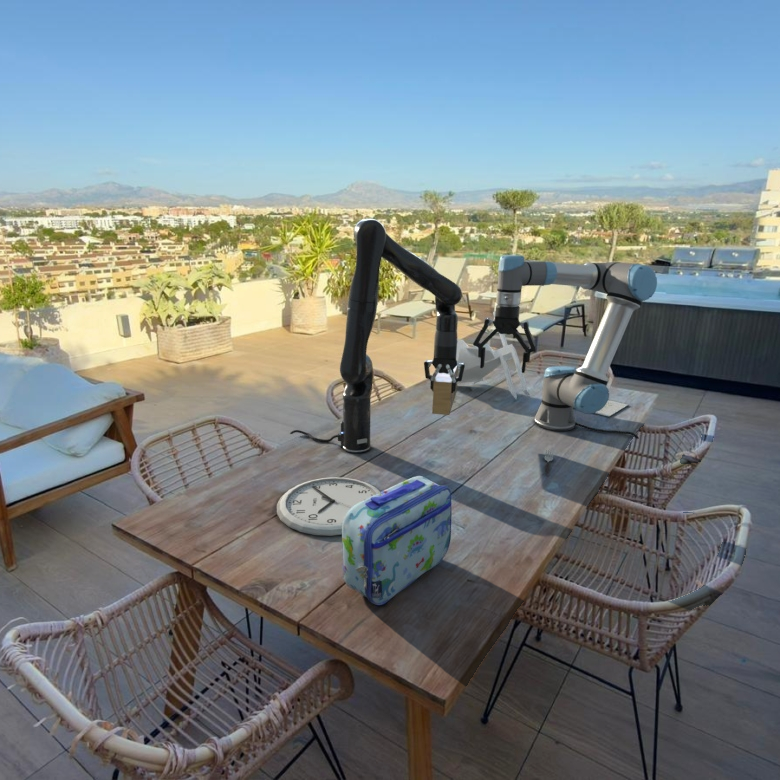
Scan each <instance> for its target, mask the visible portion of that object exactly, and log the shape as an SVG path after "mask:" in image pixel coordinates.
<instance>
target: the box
mask: <svg viewBox="0 0 780 780" xmlns="http://www.w3.org/2000/svg"><path fill="white" fill-rule="evenodd" d="M453 370H454V373H455V376H456V377H458V366H456V367H455V368H454V369H453ZM451 389H452V379H451V377H450V375H449V373H448V374H446V373H439V372H438V374H437V376H436V377H435V380H434V386H433V391H432V406H431V407H432V410H431V411H432V412H431V414H433V415H444V416H450V414H451V412H452V408H453V405H454V402H455V399H456V395H457V392H458V384H457V382H456V390H455V392H453V393H451Z"/></svg>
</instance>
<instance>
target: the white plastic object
mask: <svg viewBox="0 0 780 780" xmlns="http://www.w3.org/2000/svg"><path fill="white" fill-rule="evenodd" d="M492 315H493V319H495V311H492ZM498 335H499V338H500V342H501V345H502V347H500V348H498V349H496V350H495V349H493V348H492V347H491V346H490V344H489V343H488V342H487V343H486V344H485V345H484V346H483V347H485V361H484V367H483V368H480V363H481V358H480V357H478V347H477V346H474V345H473V346H469V345H468V343H466V342H465V340H464V339H463V338H460V339H458V338H457V341H458V342H457V353H456V360H457V362H458V363H465V368H464V372H463V376H462V380H461V381H458V382H457V385H458V384H467V383H468V384H469V383H473V384H477V383H480V382H482V381H484V378H485V377H486V376H487V375H489V374H490V373H492V372H494V371H495V370H496V369H497V368H499V367H500V366H502V370H503V373H504V376H505V380H506V383H507V386H508V390H509V393H510V394H511V395H512V397H513V398H514V399H515V400H517V392H516V391H517V390H516V388H515V385H514V381H513V378H512V375H511V371H510V369H509V365H508V361H510V360H513V363H514V366H515V369H516V372H517V376H518V380H519V382H520V385H521V389H522V391H523V393H524V395H525V396H526V397H528V396H531V395H530V390H529V388H528V387H529V386H528V384H527V381H526V378H525V375H524V373H522V365H521V362H520V359H519V355H518V352H517V349H516V347H515V346H514V345H513V343H511V344H508V341H507V337H506V334H500V333H499V332H498ZM459 372H460V370H459V369H458V377H459Z"/></svg>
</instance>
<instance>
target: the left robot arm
mask: <svg viewBox="0 0 780 780" xmlns="http://www.w3.org/2000/svg"><path fill="white" fill-rule="evenodd" d="M353 239H354V241H355V244H356V254H355V255H356V260H355V267H354V268H355V269H354V273H353V275H352V279H351V282H350V287H349V291H348V297H347V309H346V320H345V321H346V322H345V337H344V345H343V351H342V355H341V360H340V364H339V373H340V374H339V375H340V376H341V379H342V380H343V381H344V382H345V386H344V390H343V391H342V421H340V432H339V433H337V434H334V435H332V436H331V437H330V438H328V439H322V438H317V437H314V436H313V435H312V434H311V433H309V432H306V431H303V430H299V429H294V430H292V431H290V432H289V435H293V434H295V433H299V434H302V435H305V436H308V437H309V439H311V440H313V441H316V442H321V443H330V442H332V441H333V440H334V439H336V438H337V441H338V442H340V448H341V449H343V451H345V452H347V453H351V454H362V453H365V452H368V451H370V450H371V399H372V398H371V396H372V391H373V380H374V379H373V378H374V366H373V362H372V361H373V360H372V359H371V357H370V356H369V355H368V354H367V351H368V350H367V349H368V343H369V339H370V336H371V333H372V330H373V327H374V325H375V321H376V316H377V310H378V301H379V290H380V289H379V288H380V269H381V264H382V259H384V261H387V262H388V263H389V264H391V265H392V266H393V267H395V268H396V269H397V270H398V271H400V273H402V274H403V275H404V276H405V277H407V278H408V279H409V280H410V281H412V282H413V283H415V284H416V285H417V286H419V287H420V288H422V289H424V290H426V291H428V292H429V293H431V294H432V295H433V296H434V305H435V314H436V320H435V331H434V332H435V334H434V344H433V357H432V360H428V359H426V360H424V362H423V367H424V368H423V369H424V376H425V379H427V380H429V381H430V387H429V388H430V390H431V392H433V386H434V380H435V378H436V376H437V374H438V372H439V373H446V374H448V373H449V375H450V377H451V379H452V389H451V393H453V392H455V390H456V382H458V381H461V380H462V376H463V372H464V368H465V363H458V362H457V360H456V353H457V342H458V341H457V339H458V323H459V321H458V313H457V312H456V305H457V304H458V303H460V302H461V300H462V298H463V292H462V288H461V287H460V286H459V285H458V284H457V283H455V282H454V281H452V279H449V278H447V277H446V276H445V275H443V274H442V273H440V272H439V271H437V270H436V269H435V268H434V267H432V265H430V264H429V263H428V262H426V261H425V260H424V259H422V258H421V257H419V256H418V255H416V254H414V253H413V252H411V251H409V250H407V249H406V248H405V247H403V246H402V245H400V244H399V243H398V242H396V241H395V240H394V239H393V238H392V237H391V236H390V235H389V234H388V233H387V231H386V228H385V227H384V225H383V224H382V223H381V222H380V221H379V220H376V219H373V218H364V219H362V220H359V221H358V222H357V223H356V225H355V226H354V228H353ZM431 366H433V368H434V369H435V370H434V372H433V373H432V374H431V372H430V367H431ZM456 366H458V369H459V370H460V372H459V377H456V376H455V373H454V370H453V369H454V368H455V367H456Z"/></svg>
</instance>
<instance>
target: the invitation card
mask: <svg viewBox="0 0 780 780" xmlns="http://www.w3.org/2000/svg"><path fill="white" fill-rule="evenodd" d="M628 406H629V404H627V403H623V402H618V401H614V400H609V399H608V402H607V403H606V405H605V406H604V407H603V408H602V409H601V410H600V411H597V412H596V413H595V414H596V415H600V416H604V417H608V418H609V417H611V416H613V415H614V414H616V413H617V412H619V411H621V410H623V409H624V408H626V407H628Z"/></svg>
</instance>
